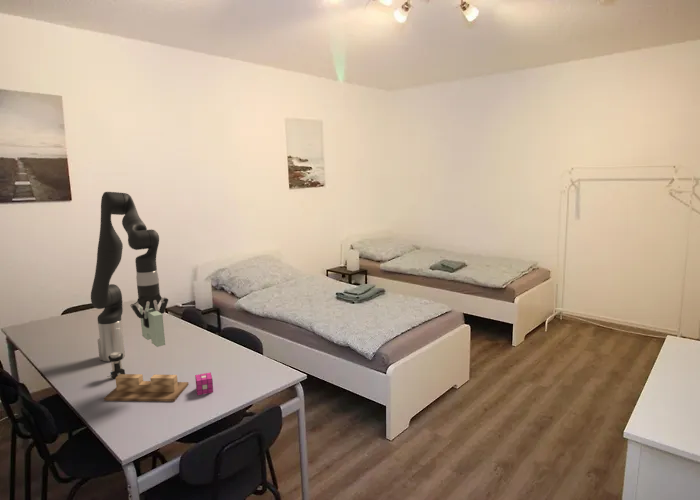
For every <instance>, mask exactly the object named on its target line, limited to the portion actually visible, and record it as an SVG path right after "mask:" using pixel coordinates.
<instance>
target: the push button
mask: <svg viewBox="0 0 700 500" xmlns="http://www.w3.org/2000/svg"><path fill="white" fill-rule="evenodd" d="M108 358H109V362H110V363H111V371H110V372H109V373H110V375H108V376H106V377H107V380H111V379H112V380H116V377H117V376H118V375H119V374H126V373H125V369H124V368H123V366H122V364H123V363H122V360H123V359H124V357H123V354H122V353H120V352H113V353H111V355H110V356H109V357H108Z"/></svg>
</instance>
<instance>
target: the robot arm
mask: <svg viewBox="0 0 700 500" xmlns="http://www.w3.org/2000/svg"><path fill="white" fill-rule="evenodd" d="M112 215H115V216H116V215H118V216H120V215H121V216H123V217H122V221H121V224H122V227H123V229H124V231H125V232H126V234H127V242H128V243H127V244H128V247H129V248H130V249H132V250H135V251H138V250H146V249H147V251H146V252H145V253H143V254H141V255H137V257H135V260H134V261H135V269H136V278H135V279H136V286H137V288H136V289H137V296H138V298H137V301H136V302H133V303H131V304H130V308H131V309H132V311H133V313H134V314H135V315H136V317H137V318H139V319H141V318H143V324H144V326H145V327H146V328H149V320H148V312H149V309H151V308H152V309H154V310H155V311H158V312H160V313H161V314H164V313H165V312H166V308H167V305H168V303H169V299H168V298H167V297H162V296H161V291H160V282H159V281H160V280H159V274H158V269H157V255H158V254H157V253H158V249H159V244H160V236H159V233H158V232H157V231H156V230H155V229H147V228H148V227H147V226H146V224H145V223H144V221H143V220H142V218H141V217H140V215H139V213H138V210H137V208H136V204H135V202H134V199H133V198H132V196H131V195H130V194H129V193H127V192H126V193H125V192H119V191H118V192H117V191H116V192H115V191H105V192H103V193H102V195H101V201H100V228H99V236H98V244H97V254H96V265H95V271H94V272H95V274H94V279H93V282H92V286H91V291H90V302H91V304H92V306H93V307H94V309H97V310H101V309H103V310H102V312H101V313H100V314H99V315H97V326H98V337H99V338H98V339H97V348H98V357H99V361H103V362H110V361H109V358H108V357H109V356H110V355H111V353H113V352H120V353H122V354H123V358H125V356H126V355H125V354H126V353H125V344H124V333H123V320H122V315H123V310H124V309H123V294H122V291H121V289H120V288H119V286H118V285H117V284H112V283H111V284H110V282H111V279H112V277H113V275H114V273H115V272H116V270H117V269H118V266H119V265H120V263H121V261H122V257H123V248H124V247H123V242H122V239H121V238H120V236H119V234H118V233H117V232H116V230H115V227H114V226H113V223H112ZM160 303H161V304H160ZM159 304H160V306H159ZM140 307H142V314H141V313H140Z"/></svg>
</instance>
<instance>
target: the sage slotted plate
mask: <svg viewBox="0 0 700 500" xmlns="http://www.w3.org/2000/svg"><path fill="white" fill-rule="evenodd" d="M139 312H140V313H141V314H142V306H139ZM163 314H164V313H163ZM163 314H161V313H160V312H158V311H155V310H154V309H152V308H151V309H149V312H148V320H149V328H146V327H145V326H144V324H143V318H140V323H141V324H140V326H141V336H142V337H143V338H144V339H146V340H147V341H149V340H150V341H151V344H153V345H154V347H156V348H159V347H162V346H166V337H165V326H164V315H163Z"/></svg>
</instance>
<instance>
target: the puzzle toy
mask: <svg viewBox="0 0 700 500" xmlns="http://www.w3.org/2000/svg"><path fill="white" fill-rule="evenodd" d="M194 378H195V390H196V394H197V396H200V395H206V394H207V395H208V394H211V393H214V384H213V382H214V381H213V377H212V372H205V373H200V374H196V375H195V376H194Z"/></svg>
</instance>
